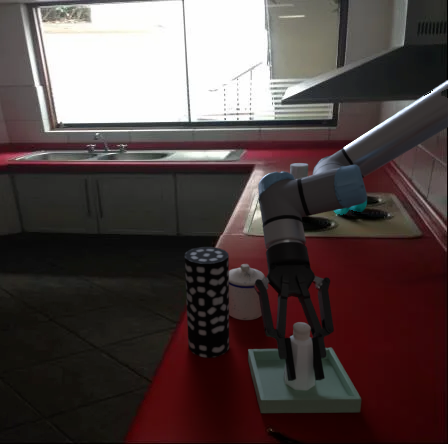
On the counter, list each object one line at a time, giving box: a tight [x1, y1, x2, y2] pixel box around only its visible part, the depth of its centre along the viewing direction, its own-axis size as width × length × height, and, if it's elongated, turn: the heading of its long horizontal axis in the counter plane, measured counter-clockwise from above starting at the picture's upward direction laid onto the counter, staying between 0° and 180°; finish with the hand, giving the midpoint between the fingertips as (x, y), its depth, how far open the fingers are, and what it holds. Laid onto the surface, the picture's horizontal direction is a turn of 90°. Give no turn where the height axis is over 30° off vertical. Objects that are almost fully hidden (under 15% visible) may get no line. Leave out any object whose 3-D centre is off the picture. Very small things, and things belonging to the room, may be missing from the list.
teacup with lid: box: [229, 263, 266, 321], centre depth 96 cm, size 12×9×12 cm
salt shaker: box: [284, 321, 315, 391], centre depth 71 cm, size 5×5×11 cm
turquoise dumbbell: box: [332, 199, 368, 216], centre depth 161 cm, size 10×10×10 cm
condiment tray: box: [247, 347, 362, 414], centre depth 73 cm, size 16×14×3 cm
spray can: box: [289, 162, 309, 179], centre depth 161 cm, size 6×6×20 cm
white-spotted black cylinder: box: [184, 246, 230, 359], centre depth 82 cm, size 8×8×20 cm
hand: (306, 379), depth 68 cm, fingers closed on salt shaker, 4 cm apart
